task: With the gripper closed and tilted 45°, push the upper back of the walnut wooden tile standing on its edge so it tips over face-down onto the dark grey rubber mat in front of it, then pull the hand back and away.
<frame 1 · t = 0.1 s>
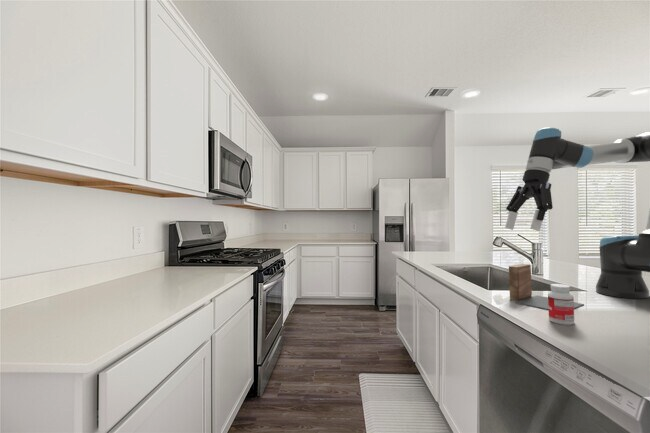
hand: (521, 229, 106), 28 cm above the countertop, tool tilted 20°, fingers open, 13 cm apart
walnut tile: (521, 298, 117), on the countertop
dark grey rubber mat: (548, 304, 109), on the countertop
pill bottle: (561, 322, 91), on the countertop
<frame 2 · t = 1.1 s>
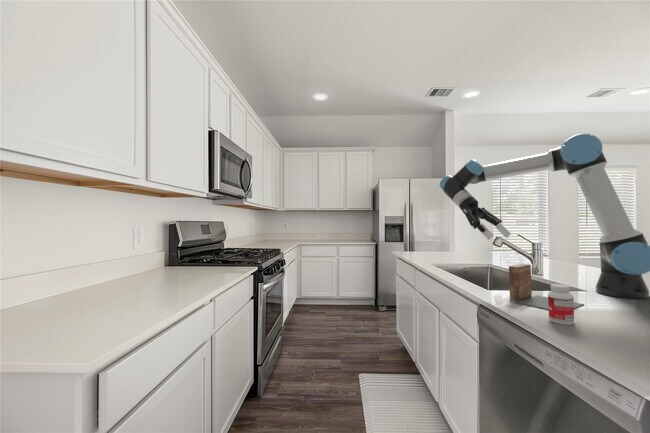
hand: (500, 236, 123), 24 cm above the countertop, tool tilted 45°, fingers open, 13 cm apart
nothing on the countertop moved.
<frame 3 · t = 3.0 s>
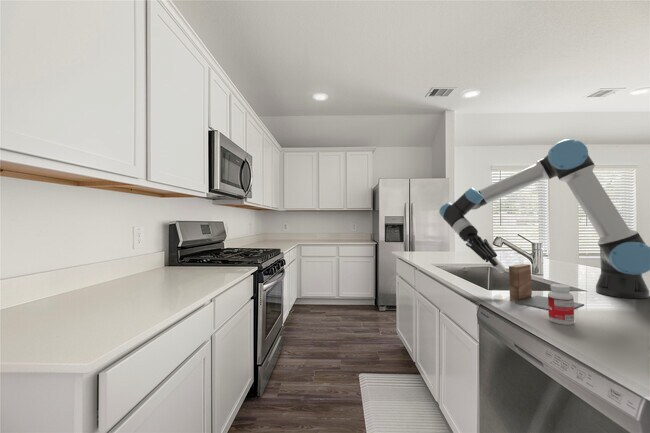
hand: (503, 271, 123), 10 cm above the countertop, tool tilted 45°, fingers closed
nothing on the countertop moved.
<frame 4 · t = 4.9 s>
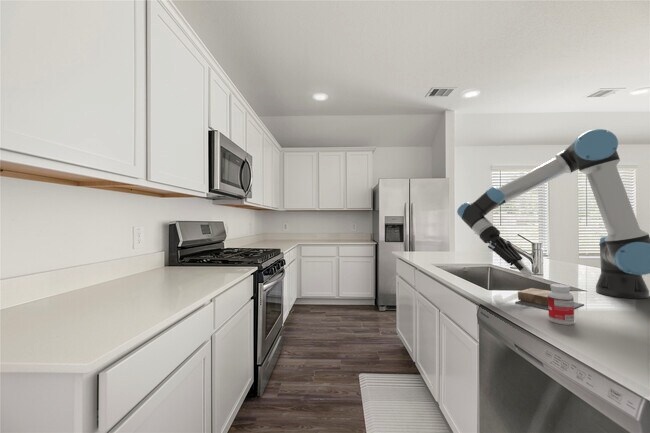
hand: (530, 275, 114), 9 cm above the countertop, tool tilted 45°, fingers closed
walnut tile: (525, 293, 116), point 2 cm above the countertop, tilted 90°, touching dark grey rubber mat
everything else where it was.
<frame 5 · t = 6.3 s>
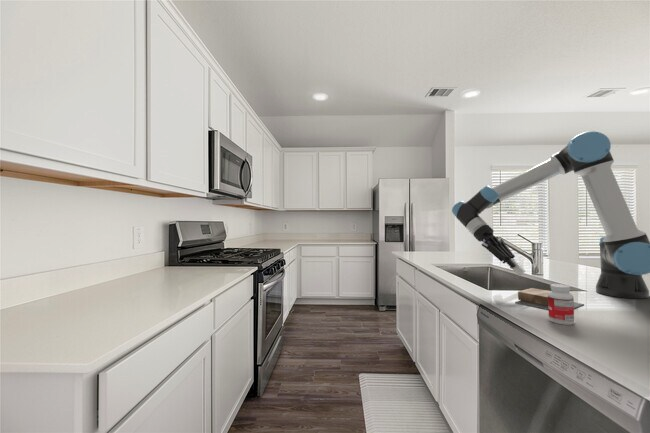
hand: (522, 273, 116), 10 cm above the countertop, tool tilted 45°, fingers closed
nothing on the countertop moved.
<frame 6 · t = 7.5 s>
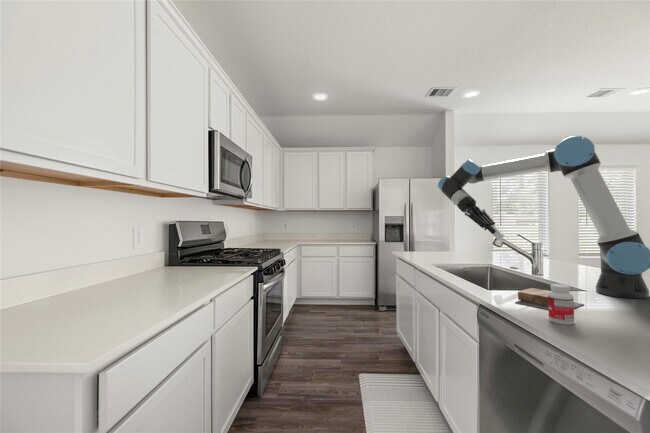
hand: (501, 238, 125), 23 cm above the countertop, tool tilted 45°, fingers closed
nothing on the countertop moved.
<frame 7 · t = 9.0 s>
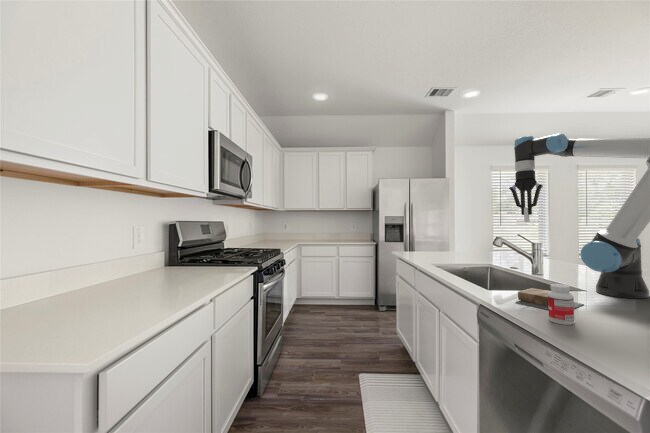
hand: (527, 222, 137), 29 cm above the countertop, tool pointing down, fingers closed
nothing on the countertop moved.
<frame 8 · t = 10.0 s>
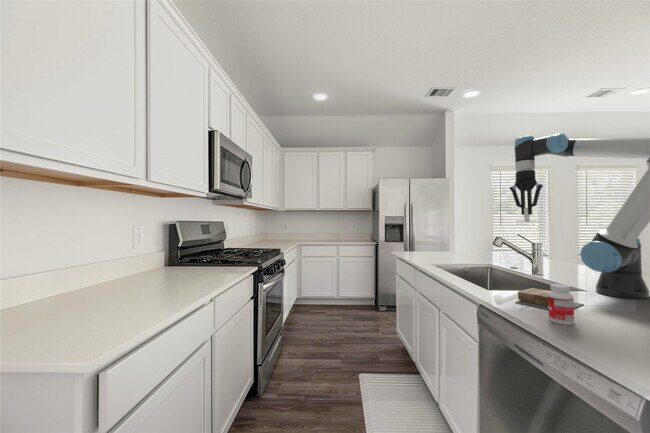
hand: (527, 221, 137), 29 cm above the countertop, tool pointing down, fingers closed
nothing on the countertop moved.
at the end: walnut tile tilted 90°; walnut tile touching dark grey rubber mat; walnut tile inside the target area (0.5 cm from its centre), point 2.2 cm above the countertop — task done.
